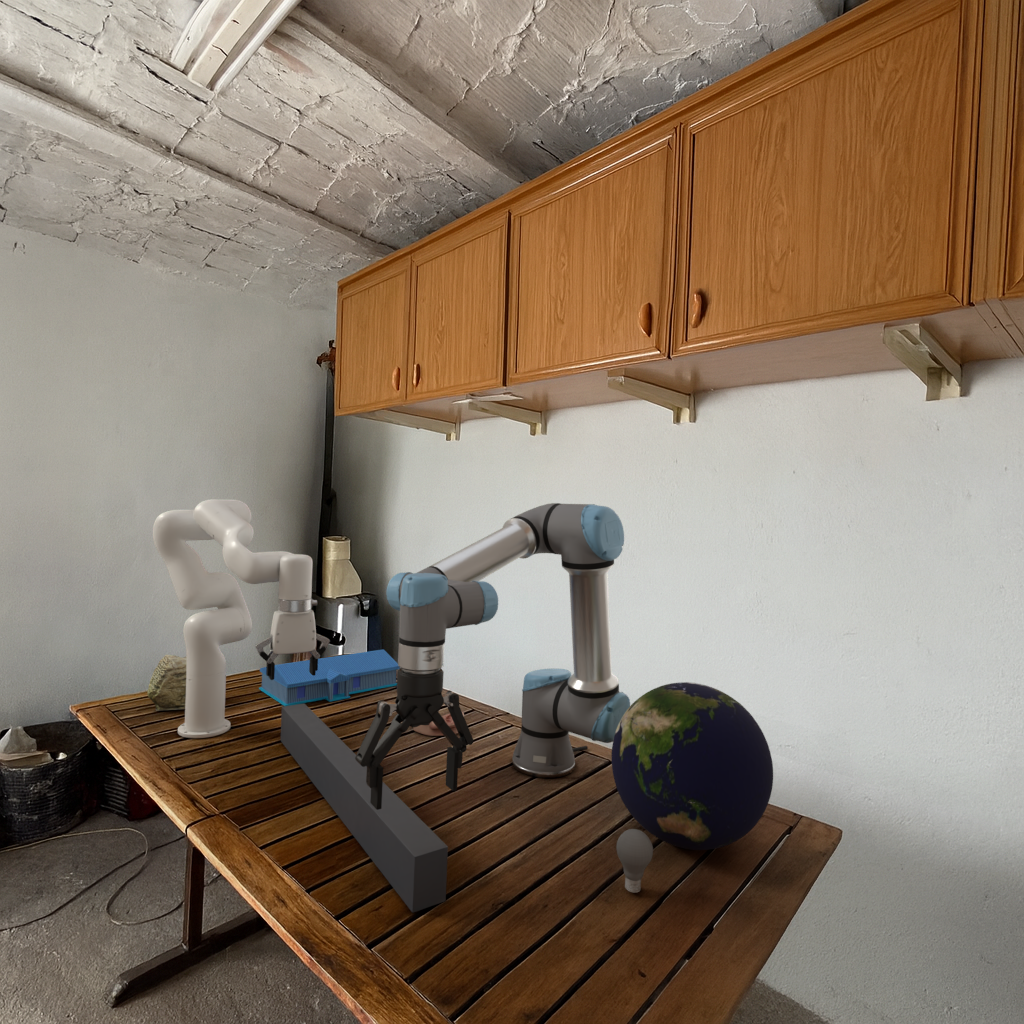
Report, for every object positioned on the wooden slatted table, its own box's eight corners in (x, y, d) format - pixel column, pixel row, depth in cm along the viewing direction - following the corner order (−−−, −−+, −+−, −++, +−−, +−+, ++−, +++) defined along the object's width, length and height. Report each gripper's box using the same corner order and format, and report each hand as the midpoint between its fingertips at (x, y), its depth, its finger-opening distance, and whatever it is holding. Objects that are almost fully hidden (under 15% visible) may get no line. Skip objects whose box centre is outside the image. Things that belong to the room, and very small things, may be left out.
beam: (280, 740, 163) (281, 706, 163) (303, 736, 166) (304, 703, 166) (412, 913, 98) (414, 856, 98) (445, 901, 101) (448, 846, 101)
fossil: (144, 707, 182) (145, 655, 182) (212, 696, 194) (213, 647, 194) (151, 716, 175) (153, 662, 175) (221, 703, 188) (223, 653, 188)
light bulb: (610, 879, 108) (613, 822, 108) (644, 879, 109) (647, 822, 109) (619, 902, 102) (622, 840, 102) (655, 901, 103) (658, 840, 103)
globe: (590, 859, 114) (598, 694, 114) (625, 791, 142) (631, 658, 142) (768, 905, 103) (778, 722, 103) (769, 822, 131) (776, 678, 130)
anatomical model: (409, 718, 171) (423, 705, 182) (408, 733, 171) (423, 719, 182) (456, 724, 168) (468, 710, 180) (455, 739, 168) (467, 724, 180)
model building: (289, 709, 186) (291, 675, 185) (258, 688, 204) (259, 657, 204) (403, 687, 212) (405, 657, 212) (366, 670, 230) (368, 643, 230)
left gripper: (326, 601, 160) (323, 668, 161) (253, 605, 151) (251, 676, 152) (335, 606, 154) (332, 676, 154) (259, 610, 145) (257, 684, 145)
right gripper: (355, 683, 94) (349, 825, 94) (496, 665, 108) (490, 789, 108) (338, 670, 100) (332, 803, 100) (474, 655, 114) (468, 772, 114)
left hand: (292, 676), depth 153 cm, fingers open, 9 cm apart
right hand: (414, 796), depth 104 cm, fingers open, 13 cm apart
